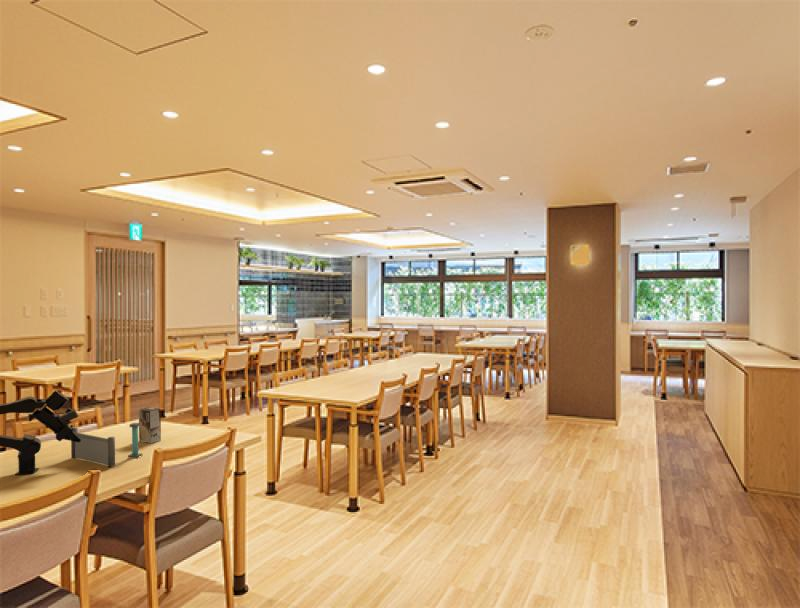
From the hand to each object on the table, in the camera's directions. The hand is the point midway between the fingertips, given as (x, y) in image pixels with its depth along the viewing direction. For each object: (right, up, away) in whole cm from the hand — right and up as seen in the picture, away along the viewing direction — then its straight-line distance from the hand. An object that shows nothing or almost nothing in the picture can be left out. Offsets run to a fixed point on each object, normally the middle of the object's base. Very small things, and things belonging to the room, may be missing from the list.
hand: (80, 441), depth 229 cm
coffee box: (+13, -10, +37) cm, 41 cm away
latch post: (+18, -10, +11) cm, 24 cm away
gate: (+4, -9, +3) cm, 11 cm away
